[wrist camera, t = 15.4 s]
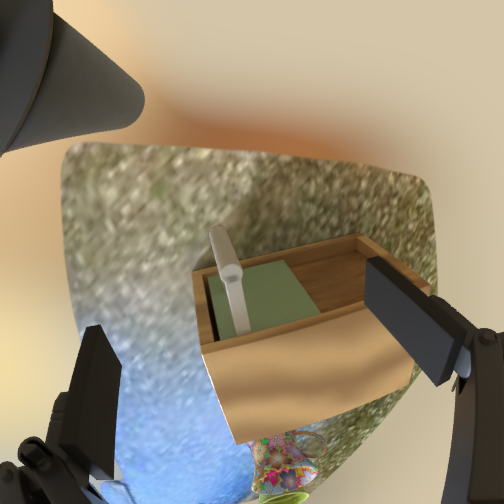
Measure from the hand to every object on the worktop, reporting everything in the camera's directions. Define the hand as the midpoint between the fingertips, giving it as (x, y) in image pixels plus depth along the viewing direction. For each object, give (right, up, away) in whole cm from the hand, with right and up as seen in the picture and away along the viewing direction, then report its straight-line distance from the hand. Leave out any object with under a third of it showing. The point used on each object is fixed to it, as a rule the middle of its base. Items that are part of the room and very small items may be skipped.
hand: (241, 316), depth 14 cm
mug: (+4, -23, +29) cm, 37 cm away
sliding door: (-1, +4, +14) cm, 15 cm away
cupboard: (+4, -2, +20) cm, 20 cm away
